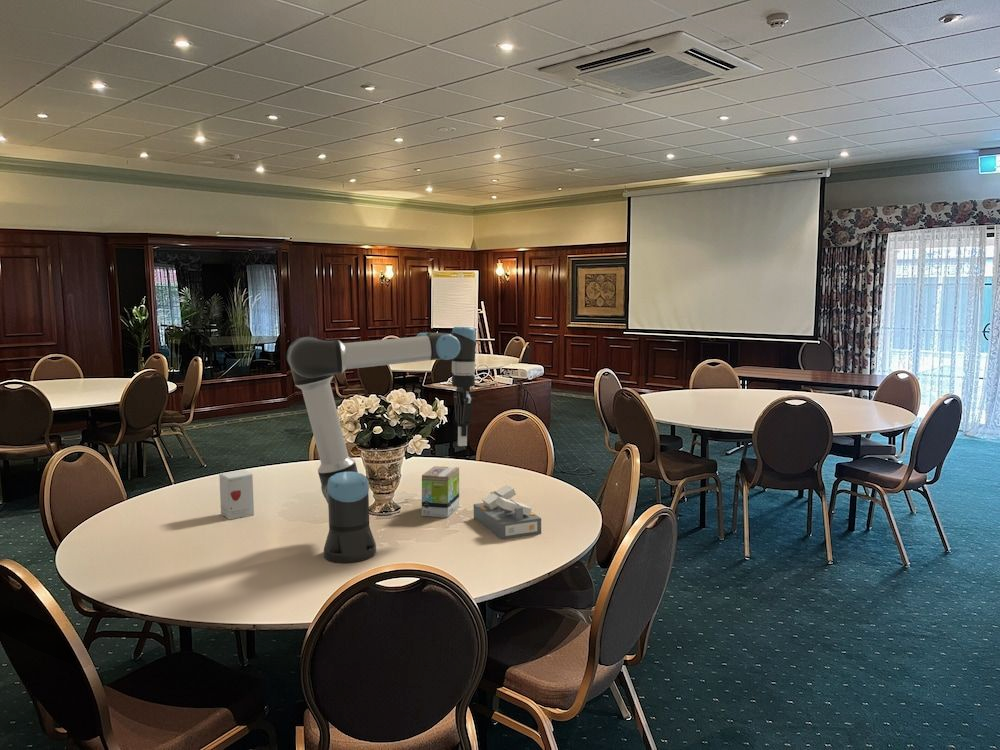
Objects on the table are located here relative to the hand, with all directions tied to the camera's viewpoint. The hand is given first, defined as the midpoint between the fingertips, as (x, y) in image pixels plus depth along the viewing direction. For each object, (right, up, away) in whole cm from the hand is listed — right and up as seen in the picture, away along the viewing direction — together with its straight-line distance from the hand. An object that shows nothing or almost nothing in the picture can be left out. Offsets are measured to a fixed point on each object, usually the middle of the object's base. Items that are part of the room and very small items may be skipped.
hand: (462, 445), depth 228 cm
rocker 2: (+16, -20, -5) cm, 26 cm away
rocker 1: (+13, -19, +7) cm, 24 cm away
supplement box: (-80, -27, +17) cm, 86 cm away
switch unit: (+15, -27, +2) cm, 30 cm away
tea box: (-9, -26, +19) cm, 33 cm away
